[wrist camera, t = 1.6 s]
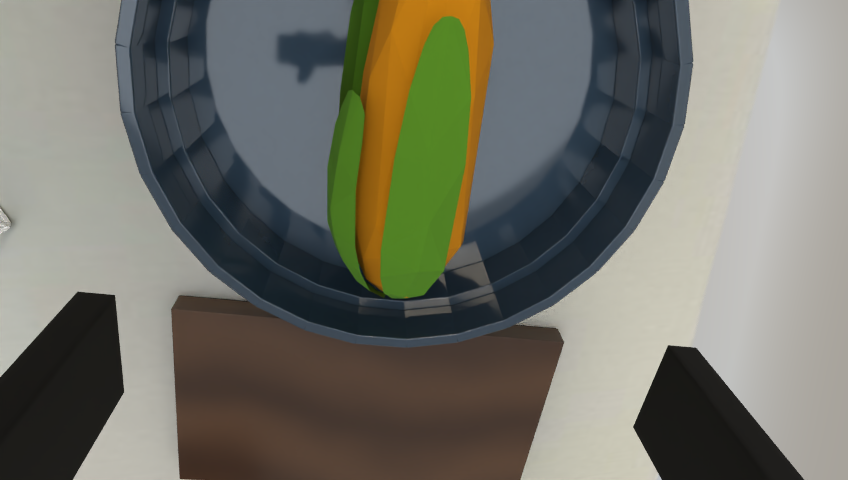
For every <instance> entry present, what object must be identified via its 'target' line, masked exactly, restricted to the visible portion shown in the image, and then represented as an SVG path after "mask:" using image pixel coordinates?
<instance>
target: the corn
mask: <svg viewBox="0 0 848 480" xmlns="http://www.w3.org/2000/svg"><path fill="white" fill-rule="evenodd" d="M493 47H494V39H493V26H492V13H491V0H354V2H353V6H352V9H351V13H350V20H349V28H348V35H347V43H346V51H345V58H344V66H343V73H342V81H341V89H340V103H339V115H338V118H337V120H336V123H335V128H334V133H333V139H332V144H331V150H330V155H329V161H328V166H327V222H328V225H329V228H330V231H331V234H332V237H333V240H334V243H335V246H336V248H337V250H338V252H339V254H340V256H341V258H342V260H343V262H344V263H345V265H346V266H347V268H348V269H349V271H350V272H351V274H352V275H353V277H354V278H355V280H356V281H357V282H359V283H360V284H361V285H363V286H364V287H365V288H367V289H368V290H369V291H371V292H373V293H375V294H377V295H379V296H381V297H383V298H384V297H385V296H386V295H387V296H389V297H391V298H396V299H406V298H412V297H417V296H422V295H424V294H425V293H426V292H427V291H428V289H429V288H430V287H431V286H432V285H433V283H434V282H435V281H436V280H437V279H438V277H439V276H440V275H441V274H442V273H443V271H444V269H445V266H446V265H447V263H448V262H449V261H450V260H451V258H452V257H453V256H454V254H455V253H456V252H457V251H458V249H459V248H460V247H461V245H462V243H463V240H464V233H465V227H466V221H467V214H468V208H469V201H470V195H471V188H472V182H473V176H474V169H475V163H476V156H477V150H478V143H479V137H480V131H481V124H482V118H483V111H484V105H485V98H486V92H487V85H488V79H489V73H490V66H491V60H492V53H493ZM359 266H360V267H361V269H362V271H363V274H364V276H365V278H366V280H368V281H369V282H370V283H372V284H373V285H374V286H376V287H377V288H378V289H380V290H381V291H383V292H384V293H382V292H380V291H377V290H376V289H375V288H374V287H372V286H371V285H370V284H368V283H367V282H366V281H365V280H364V278H363V276H362V274H361V272H360V268H359Z"/></svg>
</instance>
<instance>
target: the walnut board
mask: <svg viewBox="0 0 848 480" xmlns="http://www.w3.org/2000/svg"><path fill="white" fill-rule="evenodd" d="M171 312H172V332H173V353H174V373H175V393H176V413H177V433H178V454H179V474H180V479H191V480H520V479H521V475H522V472H523V469H524V466H525V463H526V460H527V457H528V453H529V450H530V447H531V444H532V441H533V438H534V435H535V432H536V428H537V425H538V422H539V419H540V416H541V413H542V410H543V407H544V403H545V400H546V397H547V394H548V391H549V388H550V385H551V382H552V378H553V375H554V372H555V369H556V366H557V363H558V360H559V357H560V353H561V350H562V347H563V344H564V341H563V339H562V337H561V335H560V333H559V331H558V329H554V328H543V327H531V326H520V325H513V326H511V327H509V328H506V329H503V330H500V331H496V332H493V333H489V334H486V335H482V336H479V337H476V338H472V339H469V340H465V341H462V342H457V343H450V344H440V345H430V346H421V347H411V348H407V347H406V348H401V347H389V346H376V345H364V344H353V343H349V342H346V341H342V340H338V339H335V338H331V337H327V336H324V335H320V334H316V333H312V332H309V331H305V330H304V329H301V328H299V327H297V326H295V325H293V324H291V323H288V322H286V321H284V320H282V319H280V318H278V317H276V316H274V315H272V314H270V313H268V312H266V311H264V310H262V309H260V308H258V307H256V305H255V306H254V305H253V304H251V303H250V302H246V301H235V300H223V299H212V298H200V297H189V296H179V297H178V299H177V301H176V302H175V304H174V306H173V307H172V309H171Z"/></svg>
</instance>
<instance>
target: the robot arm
mask: <svg viewBox="0 0 848 480" xmlns="http://www.w3.org/2000/svg"><path fill="white" fill-rule="evenodd" d="M123 393H124V385H123V375H122V364H121V354H120V343H119V333H118V322H117V312H116V301H115V295H107V294H96V293H85V292H77V293H76V294H75V295H74V296H73V298H72V299H71V300H70V301H69V302H68V303H67V304H66V305H65V306H64V307H63V309H62V310H61V311H60V312H59V313H58V314H57V315H56V316H55V317H54V319H53V320H52V321H51V322H50V323H49V324H48V325H47V326H46V327H45V328H44V330H43V331H42V332H41V333H40V334H39V335H38V336H37V337H36V338H35V340H34V341H33V342H32V343H31V344H30V345H29V346H28V347H27V348H26V350H25V351H24V352H23V353H22V354H21V355H20V356H19V357H18V358H17V359H16V361H15V362H14V363H13V364H12V365H11V366H10V367H9V368H8V369H7V371H6V372H5V373H4V374H3V375H2V376H1V377H0V480H73V478H74V476H75V475H76V473H77V471H78V470H79V468H80V466H81V465H82V463H83V461H84V459H85V458H86V456H87V454H88V453H89V451H90V449H91V447H92V446H93V444H94V442H95V441H96V439H97V437H98V436H99V434H100V432H101V430H102V429H103V427H104V425H105V424H106V422H107V420H108V419H109V417H110V415H111V413H112V412H113V410H114V408H115V407H116V405H117V403H118V402H119V400H120V398H121V396H122V395H123ZM633 428H634V429H635V431H636V433H637V435H638V437H639V439H640V440H641V442H642V444H643V446H644V448H645V450H646V451H647V453H648V455H649V457H650V459H651V461H652V462H653V464H654V466H655V468H656V470H657V472H658V473H659V475H660V477H661V479H662V480H804V479H803V478H802V477H801V475H800V474H799V473H798V472H797V470H796V469H795V468H794V467H793V466H792V464H791V463H790V462H789V461H788V460H787V458H786V457H785V456H784V455H783V453H782V452H781V451H780V450H779V449H778V447H777V446H776V445H775V444H774V443H773V441H772V440H771V439H770V438H769V436H768V435H767V434H766V433H765V431H764V430H763V429H762V428H761V427H760V425H759V424H758V423H757V422H756V420H755V419H754V418H753V417H752V415H750V413H749V412H748V411H747V409H746V408H745V407H744V406H743V404H742V403H741V402H740V401H739V400H738V398H737V397H736V396H735V395H734V394H733V392H732V391H731V390H730V389H729V387H728V386H727V385H726V384H725V382H724V381H723V380H722V379H721V378H720V376H719V375H718V374H717V373H716V371H715V370H714V369H713V368H712V367H711V365H710V364H709V363H708V362H707V360H705V358H704V357H703V356H702V354H701V353H700V352H699V351H698V350H697V348H692V347H681V346H670V345H668V347H667V349H666V352H665V354H664V356H663V359H662V361H661V363H660V366H659V368H658V370H657V373H656V375H655V377H654V380H653V382H652V384H651V387H650V389H649V391H648V394H647V396H646V398H645V401H644V403H643V405H642V408H641V410H640V412H639V415H638V417H637V419H636V422H635V424H634V426H633Z"/></svg>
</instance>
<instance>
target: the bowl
mask: <svg viewBox="0 0 848 480" xmlns="http://www.w3.org/2000/svg"><path fill="white" fill-rule="evenodd" d="M353 2H354V0H121V6H120V13H119V19H118V25H117V32H116V38H115V52H116V64H117V77H118V89H119V101H120V111H121V116H122V119H123V123H124V126H125V129H126V132H127V135H128V138H129V142H130V145H131V148H132V151H133V154H134V157H135V161H136V164H137V167H138V170H139V173H140V174H141V177H142V179H143V181H144V182H145V184H146V186H147V188H148V189H149V191H150V193H151V195H152V196H153V198H154V200H155V202H156V203H157V205H158V207H159V209H160V210H161V212H162V214H163V216H164V217H165V219H166V221H167V222H168V224H169V226H170V227H171V229H172V231H173V232H174V233H175V234H176V235H177V236H178V237H179V238H180V240H181V241H182V242H183V243H184V244H185V245H186V246H187V247H188V249H189V250H190V251H191V252H192V253H193V254H194V255H195V256H196V258H197V259H198V260H199V261H200V262H201V263H202V264H203V265H204V267H205V268H206V269H207V270H208V271H209V272H211V274H213V275H214V276H215V277H217V278H218V279H219V280H221V281H222V282H223V283H225V284H226V285H227V286H229V287H230V288H231V289H233V290H234V291H235V292H237V293H238V294H239V295H241V296H242V297H243V298H245V299H246V300H247V301H249V302H250V303H251V304H253V305H254V306H255V305H256V307H258V308H260V309H262V310H264V311H266V312H268V313H270V314H272V315H274V316H276V317H278V318H280V319H282V320H284V321H286V322H288V323H291V324H293V325H295V326H297V327H299V328H301V329H304V330H305V331H309V332H312V333H316V334H320V335H324V336H327V337H331V338H335V339H338V340H342V341H346V342H349V343H353V344H364V345H376V346H389V347H401V348H406V347H407V348H411V347H421V346H430V345H440V344H450V343H457V342H462V341H465V340H469V339H472V338H476V337H479V336H482V335H486V334H489V333H493V332H496V331H500V330H503V329H506V328H509V327H511V326H513V325H515V324H517V323H519V322H521V321H523V320H525V319H527V318H529V317H531V316H533V315H535V314H537V313H539V312H541V311H543V310H545V309H547V308H549V307H551V306H553V305H554V304H556V303H557V302H559V301H560V300H561V299H563V298H564V297H565V296H566V295H568V294H569V293H570V292H572V291H573V290H574V289H576V288H577V287H578V286H580V285H581V284H582V283H584V282H585V281H586V280H588V279H589V278H590V277H592V276H593V275H594V274H595V273H596V271H599V270H600V269H601V267H602V266H603V265H604V264H605V263H606V262H607V261H608V260H609V259H610V257H611V256H612V255H613V254H614V253H615V252H616V251H617V250H618V249H619V248H620V246H621V245H622V244H623V243H624V242H625V241H626V240H627V239H628V238H629V236H630V235H631V234H632V233H633V232H634V231H635V229H636V228H637V226H638V224H639V223H640V221H641V219H642V218H643V216H644V214H645V213H646V211H647V209H648V208H649V206H650V204H651V203H652V201H653V200H654V198H655V196H656V195H657V193H658V191H659V190H660V188H661V186H662V185H663V183H664V182H663V181H665V178H666V175H667V172H668V170H669V167H670V164H671V161H672V159H673V156H674V153H675V150H676V147H677V145H678V142H679V139H680V136H681V134H682V131H683V128H684V124H685V118H686V111H687V104H688V97H689V90H690V82H691V75H692V68H693V63H692V62H693V52H692V40H691V27H690V14H689V1H688V0H491V13H492V26H493V39H494V47H493V53H492V60H491V66H490V73H489V79H488V85H487V92H486V98H485V105H484V111H483V118H482V124H481V131H480V137H479V143H478V150H477V156H476V163H475V169H474V176H473V182H472V188H471V195H470V201H469V208H468V214H467V221H466V227H465V233H464V240H463V243H462V245H461V247H460V248H459V249H458V251H457V252H456V253H455V254H454V256H453V257H452V258H451V260H450V261H449V262H448V263H447V265H446V266H445V269H444V271H443V273H442V274H441V275H440V276H439V277H438V279H437V280H436V281H435V282H434V283H433V285H432V286H431V287H430V288H429V289H428V291H427V292H426V293H425V294H424V295H422V296H417V297H412V298H406V299H396V298H391V297H389V296H387V295H386V296H385V297H384V298H383V297H381V296H379V295H377V294H375V293H373V292H371V291H369V290H368V289H367V288H365V287H364V286H363V285H361V284H360V283H359V282H357V281H356V280H355V278H354V277H353V275H352V274H351V272H350V271H349V269H348V268H347V266H346V265H345V263H344V262H343V260H342V258H341V256H340V254H339V252H338V250H337V248H336V246H335V243H334V240H333V237H332V234H331V231H330V228H329V225H328V222H327V166H328V161H329V155H330V150H331V144H332V139H333V133H334V128H335V123H336V120H337V118H338V115H339V103H340V89H341V81H342V73H343V66H344V58H345V51H346V43H347V35H348V28H349V20H350V13H351V9H352V6H353ZM633 230H634V231H633ZM359 268H360V272H361V274H362V276H363V278H364V280H365V281H366V282H367V283H368V284H370V285H371V286H372V287H374V288H375V289H376V290H377V291H380V292H382V293H384V292H383V291H381V290H380V289H378V288H377V287H376V286H374V285H373V284H372V283H370V282H369V281H368V280H366V278H365V276H364V274H363V271H362V269H361V267H360V266H359Z"/></svg>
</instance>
